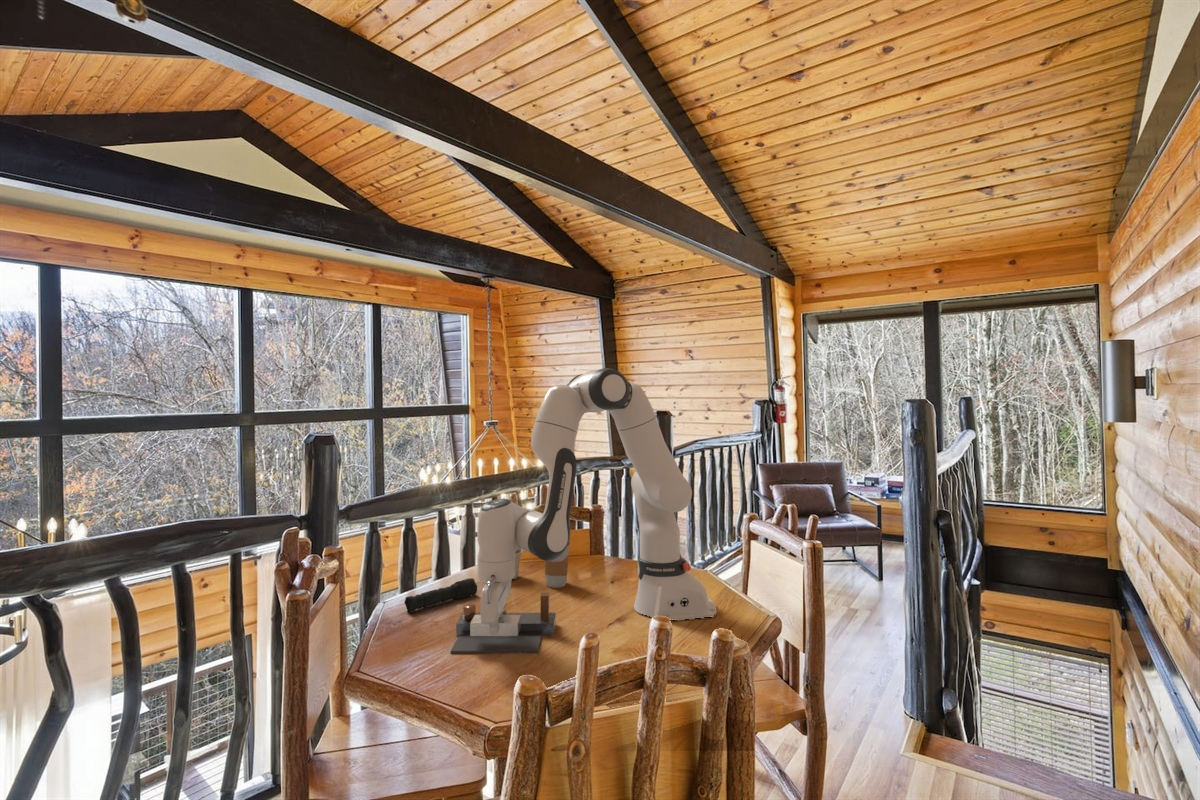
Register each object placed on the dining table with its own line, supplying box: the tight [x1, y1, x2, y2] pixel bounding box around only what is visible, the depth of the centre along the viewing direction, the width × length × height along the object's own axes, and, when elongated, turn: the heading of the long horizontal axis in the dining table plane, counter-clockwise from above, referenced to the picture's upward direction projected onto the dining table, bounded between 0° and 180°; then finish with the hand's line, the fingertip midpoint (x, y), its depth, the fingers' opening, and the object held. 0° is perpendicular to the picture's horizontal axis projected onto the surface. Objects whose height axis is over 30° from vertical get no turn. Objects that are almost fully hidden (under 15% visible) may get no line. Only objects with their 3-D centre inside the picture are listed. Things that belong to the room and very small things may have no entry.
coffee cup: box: [543, 542, 570, 589], centre depth 179 cm, size 8×8×15 cm
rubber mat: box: [450, 636, 542, 654], centre depth 136 cm, size 20×8×1 cm, turn 90°
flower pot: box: [512, 549, 524, 580], centre depth 186 cm, size 9×9×9 cm
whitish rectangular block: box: [470, 615, 521, 636], centre depth 136 cm, size 11×5×3 cm, turn 90°
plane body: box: [455, 592, 557, 637], centre depth 145 cm, size 24×7×9 cm, turn 90°
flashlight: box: [404, 577, 478, 614], centre depth 164 cm, size 5×21×5 cm, turn 136°
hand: (496, 627), depth 136 cm, fingers closed on whitish rectangular block, 5 cm apart
